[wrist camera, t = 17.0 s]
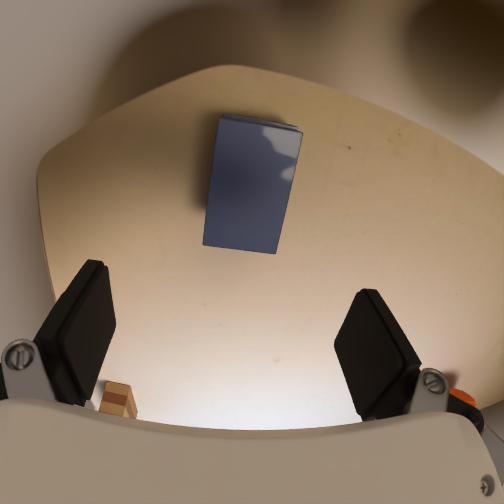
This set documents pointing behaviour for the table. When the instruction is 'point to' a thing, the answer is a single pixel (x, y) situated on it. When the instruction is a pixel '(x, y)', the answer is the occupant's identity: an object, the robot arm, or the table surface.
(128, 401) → the tan books
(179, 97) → the table surface
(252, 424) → the table surface
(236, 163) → the navy book
